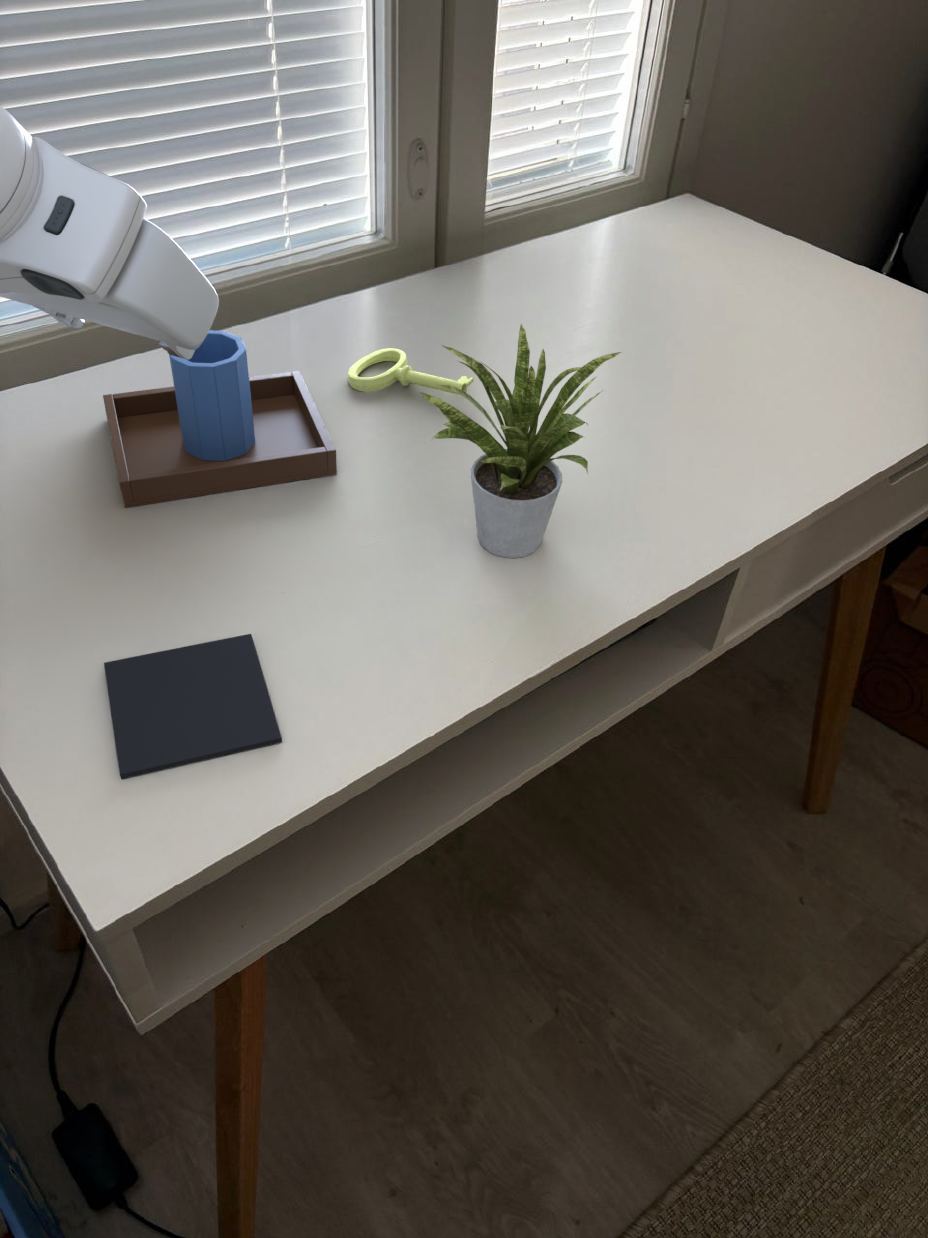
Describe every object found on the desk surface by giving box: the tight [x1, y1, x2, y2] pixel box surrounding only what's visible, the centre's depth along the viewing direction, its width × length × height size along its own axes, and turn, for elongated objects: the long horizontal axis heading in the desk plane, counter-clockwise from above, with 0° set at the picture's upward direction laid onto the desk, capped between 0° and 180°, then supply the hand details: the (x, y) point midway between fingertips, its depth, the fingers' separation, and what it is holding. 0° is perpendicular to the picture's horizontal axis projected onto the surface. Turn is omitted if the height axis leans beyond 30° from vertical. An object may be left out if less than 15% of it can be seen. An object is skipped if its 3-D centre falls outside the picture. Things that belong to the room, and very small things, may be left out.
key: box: [347, 347, 474, 396], centre depth 98 cm, size 7×12×2 cm, turn 80°
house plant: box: [418, 323, 623, 559], centre depth 77 cm, size 14×14×16 cm
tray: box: [102, 370, 338, 508], centre depth 88 cm, size 18×14×2 cm
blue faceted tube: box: [168, 329, 255, 461], centre depth 85 cm, size 6×6×9 cm
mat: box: [103, 633, 283, 780], centre depth 67 cm, size 10×10×1 cm
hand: (131, 332), depth 69 cm, fingers open, 8 cm apart
